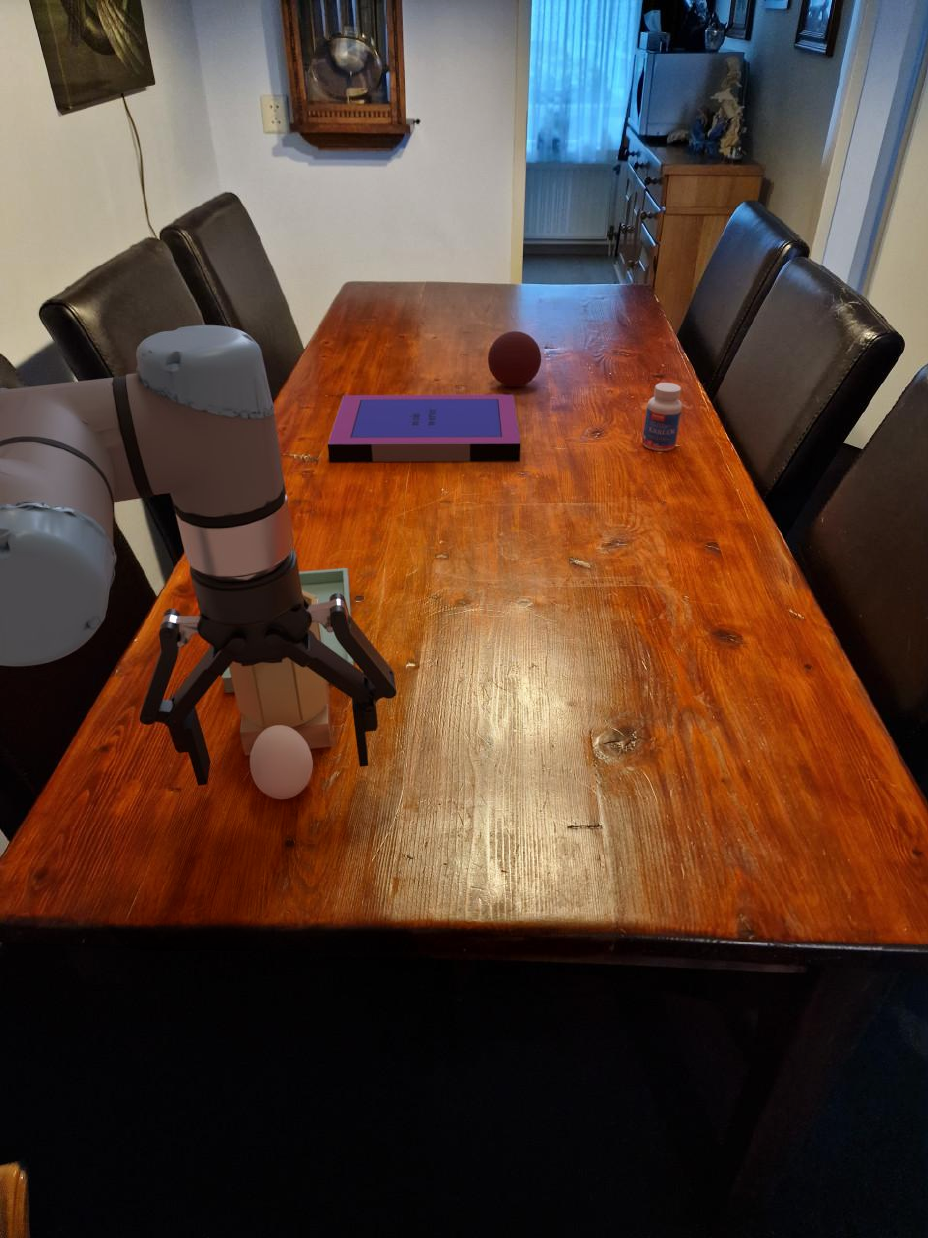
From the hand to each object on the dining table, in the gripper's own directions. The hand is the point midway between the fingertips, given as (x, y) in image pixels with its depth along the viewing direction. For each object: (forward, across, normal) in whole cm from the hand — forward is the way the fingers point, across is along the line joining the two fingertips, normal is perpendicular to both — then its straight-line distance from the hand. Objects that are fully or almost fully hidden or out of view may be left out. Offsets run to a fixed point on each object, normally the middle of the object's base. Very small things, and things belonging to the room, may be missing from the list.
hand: (284, 764), depth 71 cm
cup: (0, 0, -9) cm, 9 cm away
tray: (+3, 0, -24) cm, 24 cm away
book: (+4, -21, -77) cm, 80 cm away
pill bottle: (+4, -58, -67) cm, 88 cm away
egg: (+4, 0, 0) cm, 4 cm away
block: (+3, 0, -9) cm, 9 cm away
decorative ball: (+4, -40, -98) cm, 106 cm away
